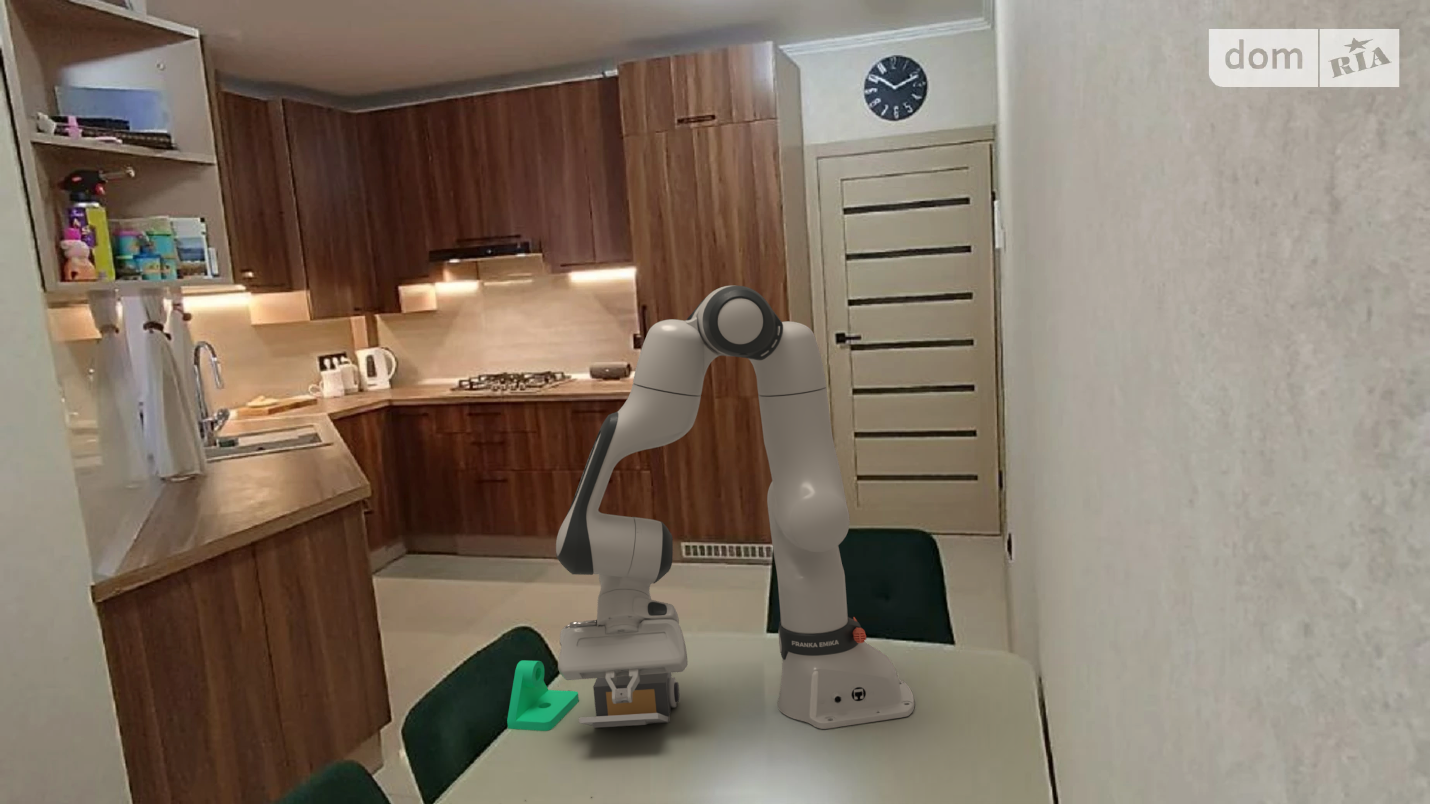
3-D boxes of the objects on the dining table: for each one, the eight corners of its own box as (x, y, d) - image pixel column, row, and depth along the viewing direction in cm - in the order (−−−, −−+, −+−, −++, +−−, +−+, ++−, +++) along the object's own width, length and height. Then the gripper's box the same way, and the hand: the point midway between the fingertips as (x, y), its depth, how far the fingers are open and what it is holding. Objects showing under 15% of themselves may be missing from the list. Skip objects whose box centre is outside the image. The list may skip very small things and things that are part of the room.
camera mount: (550, 738, 150) (544, 677, 149) (508, 735, 152) (502, 675, 151) (581, 705, 161) (575, 649, 160) (542, 703, 164) (536, 647, 162)
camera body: (681, 701, 159) (678, 662, 158) (677, 722, 151) (674, 682, 150) (605, 706, 160) (601, 667, 159) (597, 727, 152) (593, 687, 151)
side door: (669, 716, 151) (659, 712, 138) (670, 726, 150) (659, 723, 138) (595, 720, 151) (577, 716, 139) (595, 731, 151) (577, 728, 139)
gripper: (556, 614, 148) (550, 699, 139) (683, 604, 147) (685, 689, 138) (565, 631, 152) (559, 714, 144) (688, 621, 151) (689, 704, 143)
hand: (622, 701), depth 141 cm, fingers closed
